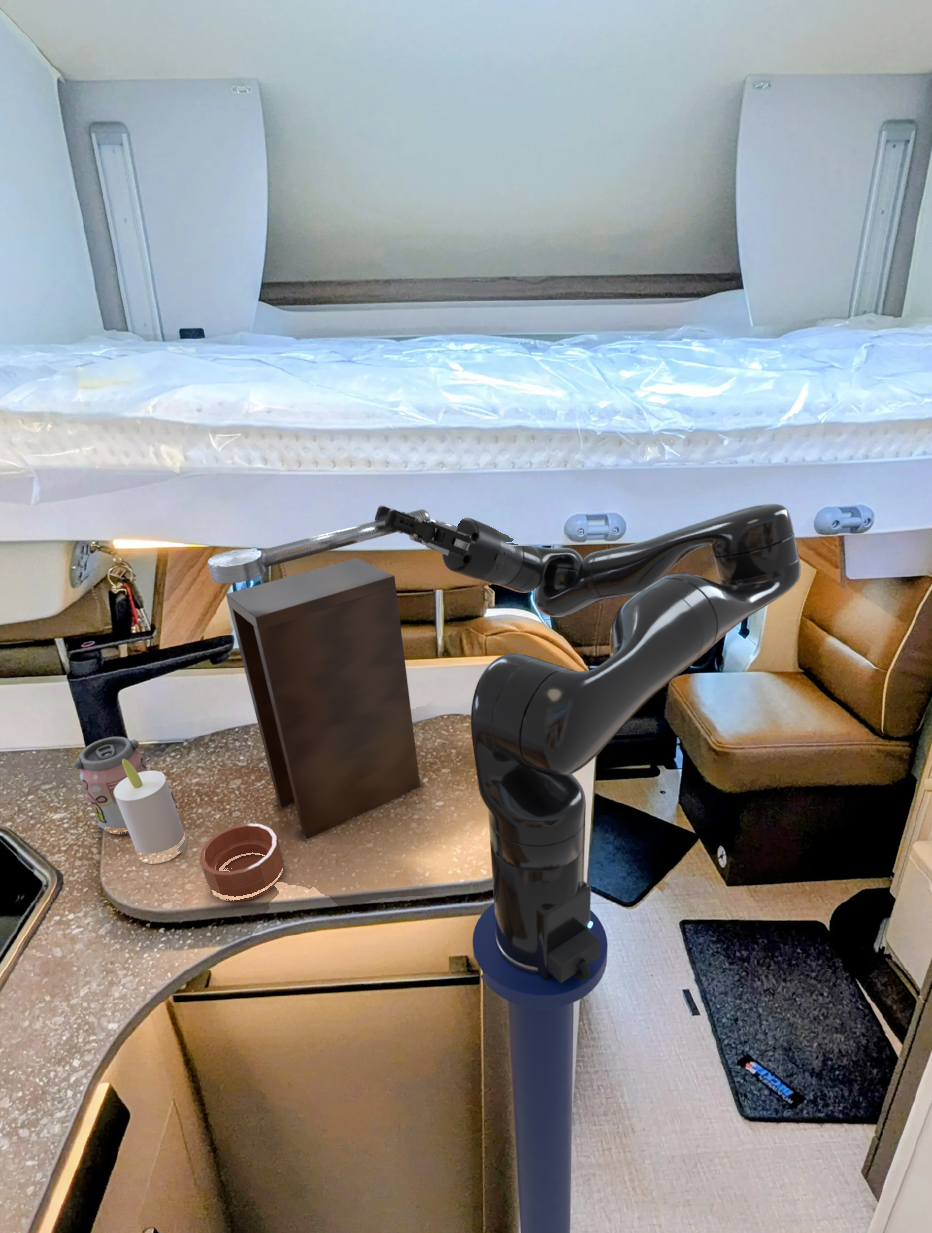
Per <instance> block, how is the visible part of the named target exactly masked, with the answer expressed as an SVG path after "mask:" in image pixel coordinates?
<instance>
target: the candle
mask: <svg viewBox="0 0 932 1233" xmlns="http://www.w3.org/2000/svg"><path fill="white" fill-rule="evenodd" d="M122 764H123V767H124V770H125V772H126V775H127V778H125V779H123V780H122V781H121V782H120V783H118V784H117V786H116V787H115V789H114V796H115V798H116V801H117V804H118V806H119V809H120V811H121V814H122V816H123V819H124V821H125V824H126V826H127V829H128V832H129V834H128V835H129V837H130V839H131V841H132V842H131V843H132V845H133V847H134V850H135V851H136V850H137V851H139V852H142V853H146V854H150V853H151V854H152V853H158V852H162V851H165V850H168V849H170V848H172V847H174V846H175V845H177V844H178V843H179V842H180V841H181V840H182V838H183V836H184V833H185V830H184V826H183V825H182V821H181V818H180V814H179V813H178V809H177V808H178V805H176V804H175V801H176V799H175V796H174V794H173V792H172V791H171V789H170V786H169V783H168V781H167V780H168V779H167V778H166V775H165V774H164V773H163V772H161V771H158V770H148V771H143V772H139V773H137V771H136V770H135V768H134V767H133V766H132V764H131V763H130V762H129V761H127V760H126V759H122ZM187 846H188V840H187V836H186V835H185V840H184V842H183V844H182V845H181V846H180V847H179V848H178V849H179V850H178V849H177V850H178V852H179V851H180V852H181V851H182V853H183V852H184V851H185V849H186V848H187Z"/></svg>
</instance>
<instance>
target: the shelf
mask: <svg viewBox="0 0 932 1233" xmlns="http://www.w3.org/2000/svg"><path fill="white" fill-rule="evenodd" d="M225 597H226V602H227V605H228V609H229V613H230V617H231V621H232V625H233V630H234V634H235V637H236V640H237V646H238V648H239V652H240V657H241V661H242V665H243V669H244V673H245V677H246V681H247V685H248V689H249V692H250V698H251V702H252V705H253V708H254V709H253V710H254V713H255V717H256V721H257V725H258V729H259V733H260V738H261V741H262V745H263V749H264V752H265V758H266V761H267V764H268V768H269V769H268V770H269V773H270V777H271V782H272V785H273V788H274V793H275V797H276V801H277V805H279V806H280V808H281V809H283V808H285V807H288V806H290V805H292V804H294V803H295V808H296V813H297V817H298V821H299V825H300V829H301V834H302V835H303V837H304V838H305V839H306V840H308V839H311V838H312V837H314V836H317V835H319V834H321V833H323V832H325V831H328V830H329V829H332V828H334V827H336V826H338V825H340V824H342V823H344V822H347V821H349V820H351V819H353V818H356V817H357V816H359V815H361V814H363V813H367V812H368V811H370V810H372V809H375V808H376V807H379V806H381V805H383V804H385V803H387V802H389V801H392V800H395V799H396V798H398V797H400V796H402V795H405V794H407V793H409V792H411V791H413V790H415V789H417V788H420V787H421V781H420V774H419V773H420V772H419V765H418V756H417V749H416V740H415V732H414V724H413V715H412V708H411V699H410V692H409V691H410V690H409V683H408V676H407V675H408V674H407V666H406V658H405V649H404V642H403V634H402V625H401V618H400V609H399V600H398V593H397V587H396V576H395V575H394V574H391V573H389V572H388V571H387V572H386V571H385V570H383V569H381V568H378V567H377V566H374V565H372V564H370V563H368V562H366V561H364V560H362V559H360V558H358V557H354V558H352V559H351V558H350V559H347V560H344V561H341V562H337V563H333V564H330V565H326V566H322V567H319V568H314V569H310V570H308V571H304V572H300V573H297V574H293V575H290V576H286V577H283V578H279V579H275V580H272V581H269V582H268V581H267V582H264V583H261V584H257V585H253V586H249V587H246V588H242V589H239V590H235V591H232V592H229V593H226V594H225Z"/></svg>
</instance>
